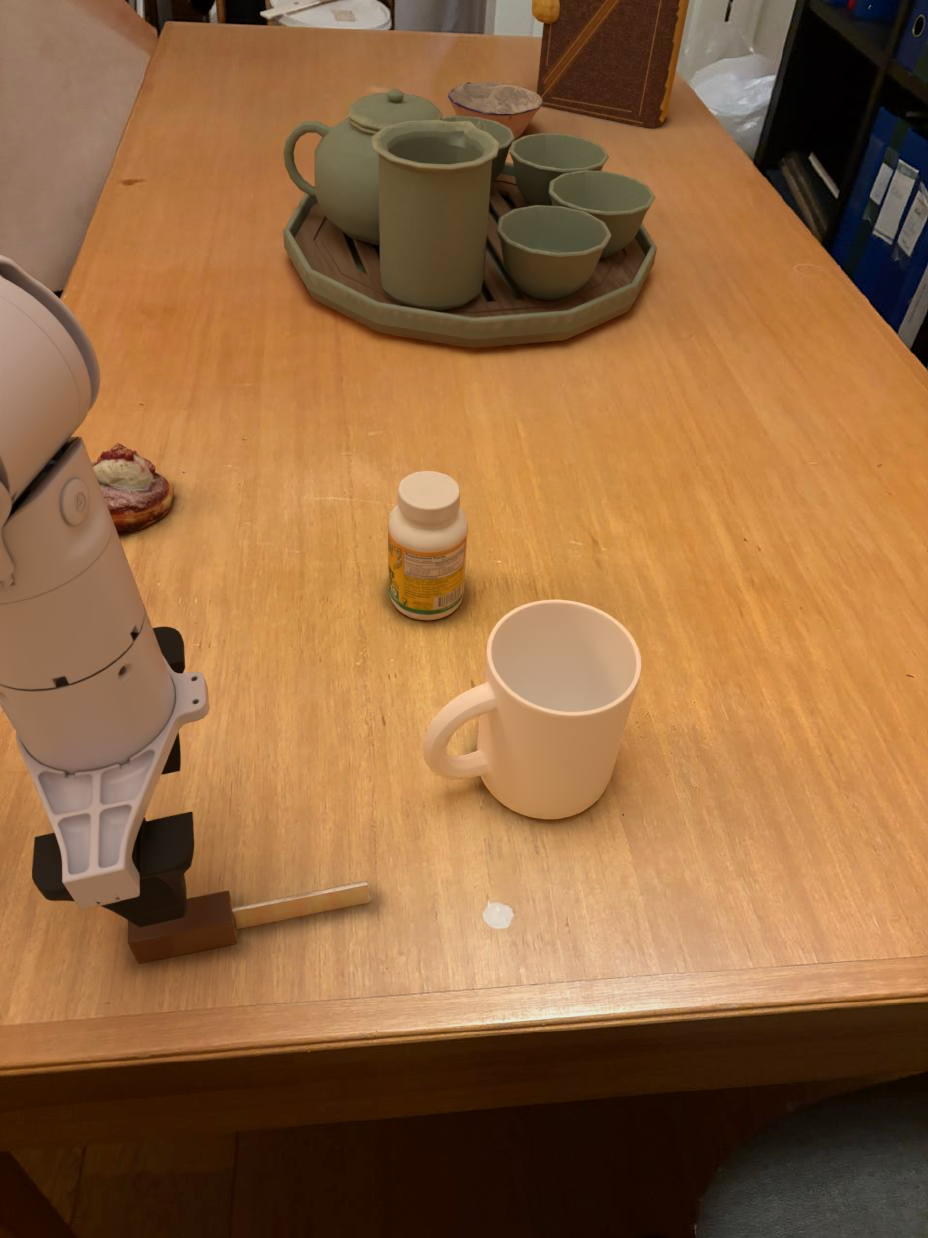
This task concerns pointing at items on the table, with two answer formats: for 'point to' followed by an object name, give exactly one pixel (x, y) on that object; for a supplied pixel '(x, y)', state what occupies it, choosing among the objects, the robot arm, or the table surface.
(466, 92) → the bowl
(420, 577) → the supplement bottle
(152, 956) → the knife
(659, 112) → the book
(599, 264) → the tea set
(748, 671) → the table surface
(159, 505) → the pastry
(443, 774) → the mug
